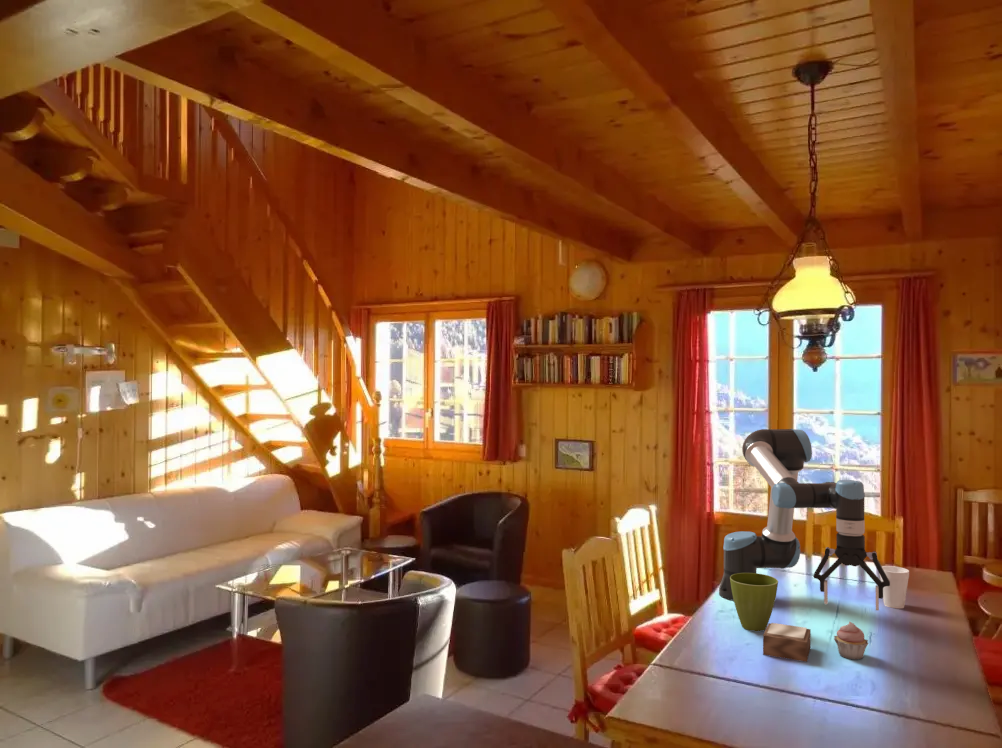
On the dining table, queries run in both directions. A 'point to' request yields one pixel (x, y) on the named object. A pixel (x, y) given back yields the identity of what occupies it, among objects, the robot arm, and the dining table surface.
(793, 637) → the walnut base
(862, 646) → the cupcake
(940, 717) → the dining table surface
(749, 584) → the flower pot
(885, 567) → the foam cup
